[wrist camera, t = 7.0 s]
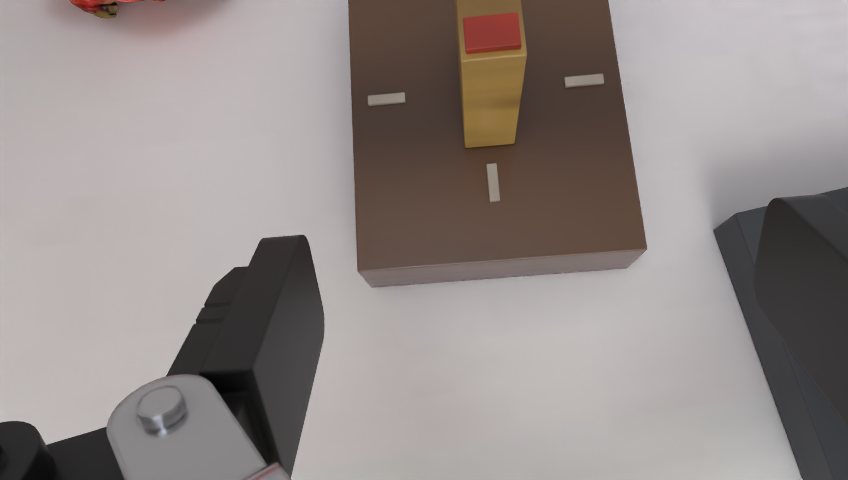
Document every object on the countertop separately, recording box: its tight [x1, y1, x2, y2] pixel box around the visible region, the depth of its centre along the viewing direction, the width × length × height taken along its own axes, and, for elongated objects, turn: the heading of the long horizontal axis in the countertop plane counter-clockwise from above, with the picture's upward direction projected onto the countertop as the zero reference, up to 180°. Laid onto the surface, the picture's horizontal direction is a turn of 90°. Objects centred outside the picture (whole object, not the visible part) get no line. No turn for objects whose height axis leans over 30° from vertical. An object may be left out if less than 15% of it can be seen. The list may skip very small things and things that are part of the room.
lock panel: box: [348, 0, 647, 287], centre depth 25 cm, size 13×10×3 cm
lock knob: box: [454, 0, 527, 148], centre depth 21 cm, size 4×2×6 cm, turn 4°
